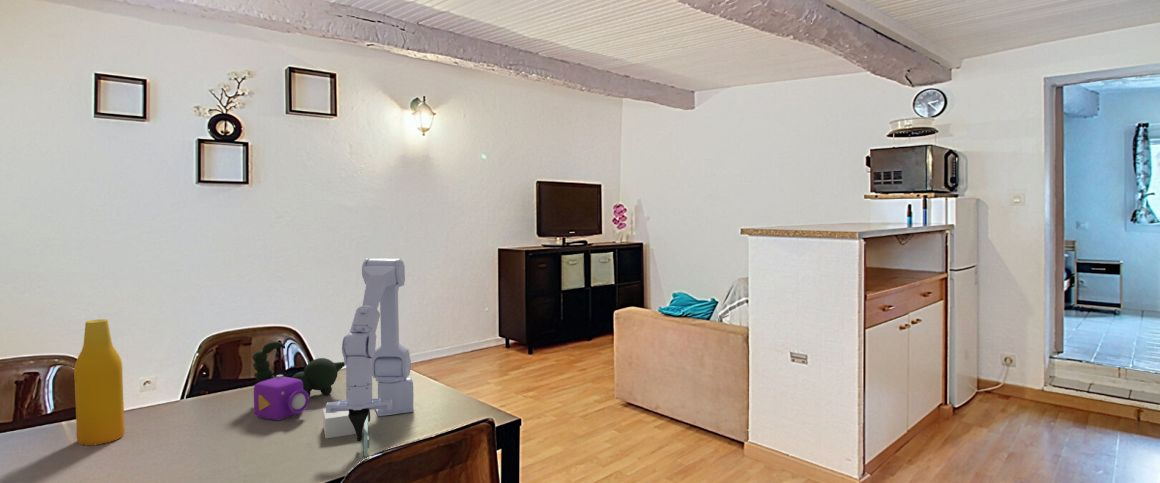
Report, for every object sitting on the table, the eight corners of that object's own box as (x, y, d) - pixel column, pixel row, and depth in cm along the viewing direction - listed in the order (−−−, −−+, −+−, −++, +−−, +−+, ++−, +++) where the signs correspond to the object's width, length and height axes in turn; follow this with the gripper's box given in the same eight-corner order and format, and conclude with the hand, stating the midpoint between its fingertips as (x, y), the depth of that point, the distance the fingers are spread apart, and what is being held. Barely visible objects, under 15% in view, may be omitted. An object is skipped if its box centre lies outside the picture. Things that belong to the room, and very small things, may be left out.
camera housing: (368, 421, 163) (367, 399, 163) (372, 431, 156) (372, 409, 156) (323, 427, 159) (322, 405, 158) (325, 438, 151) (325, 415, 151)
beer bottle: (84, 434, 152) (79, 318, 150) (129, 429, 155) (125, 316, 153) (70, 448, 143) (65, 325, 141) (119, 443, 147) (114, 323, 145)
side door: (364, 432, 155) (364, 414, 155) (369, 432, 155) (369, 413, 155) (363, 457, 140) (363, 436, 140) (369, 456, 141) (368, 436, 140)
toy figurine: (261, 415, 172) (353, 392, 185) (252, 349, 169) (346, 331, 183) (257, 405, 179) (346, 384, 193) (249, 342, 177) (339, 325, 191)
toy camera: (293, 424, 160) (292, 387, 160) (247, 420, 163) (246, 383, 162) (318, 411, 171) (318, 375, 170) (275, 407, 174) (274, 372, 173)
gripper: (323, 389, 139) (323, 448, 139) (390, 386, 142) (390, 444, 142) (328, 381, 145) (329, 437, 146) (392, 378, 149) (392, 433, 149)
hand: (359, 440), depth 145 cm, fingers closed
